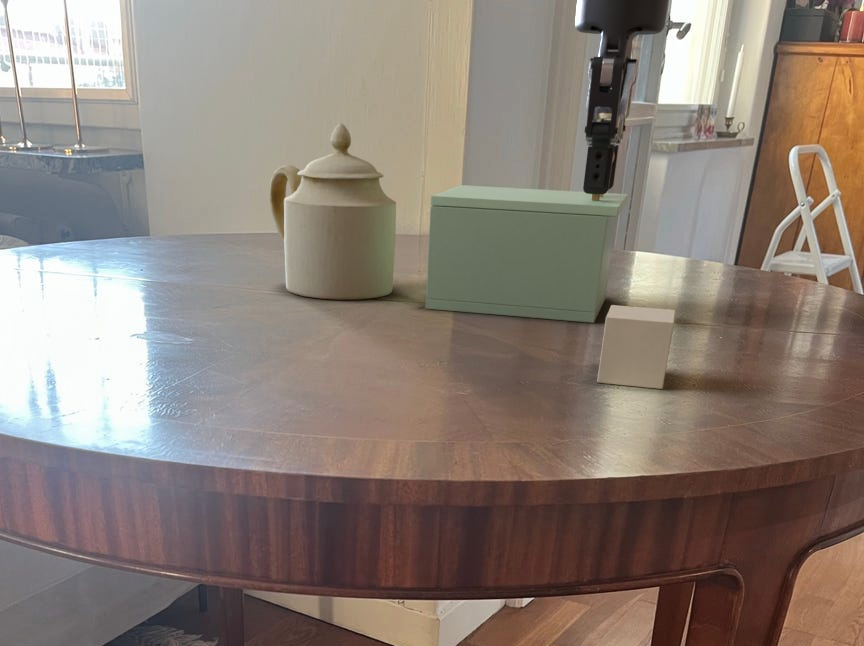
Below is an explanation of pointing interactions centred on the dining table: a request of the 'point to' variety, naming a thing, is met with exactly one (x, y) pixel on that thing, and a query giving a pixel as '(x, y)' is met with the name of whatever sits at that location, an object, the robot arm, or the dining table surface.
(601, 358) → the block
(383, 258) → the sugar bowl
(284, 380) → the dining table surface
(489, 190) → the chest lid
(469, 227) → the chest
